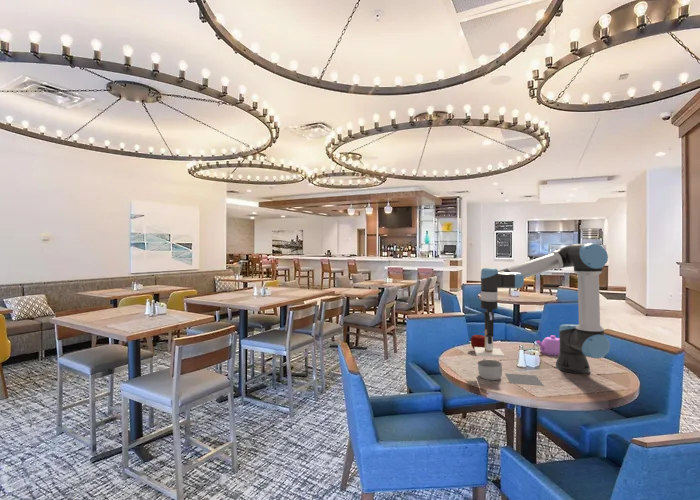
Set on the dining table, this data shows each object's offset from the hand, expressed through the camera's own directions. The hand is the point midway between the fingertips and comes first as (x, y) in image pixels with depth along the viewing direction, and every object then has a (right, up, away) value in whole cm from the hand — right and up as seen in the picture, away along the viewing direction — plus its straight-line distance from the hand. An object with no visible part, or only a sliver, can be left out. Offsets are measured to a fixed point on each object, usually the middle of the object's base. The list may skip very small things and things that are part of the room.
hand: (488, 349), depth 178 cm
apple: (+12, -14, +48) cm, 52 cm away
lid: (0, -2, 0) cm, 2 cm away
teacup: (0, -14, 0) cm, 14 cm away
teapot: (+54, -15, +44) cm, 71 cm away
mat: (+15, -14, -4) cm, 21 cm away
